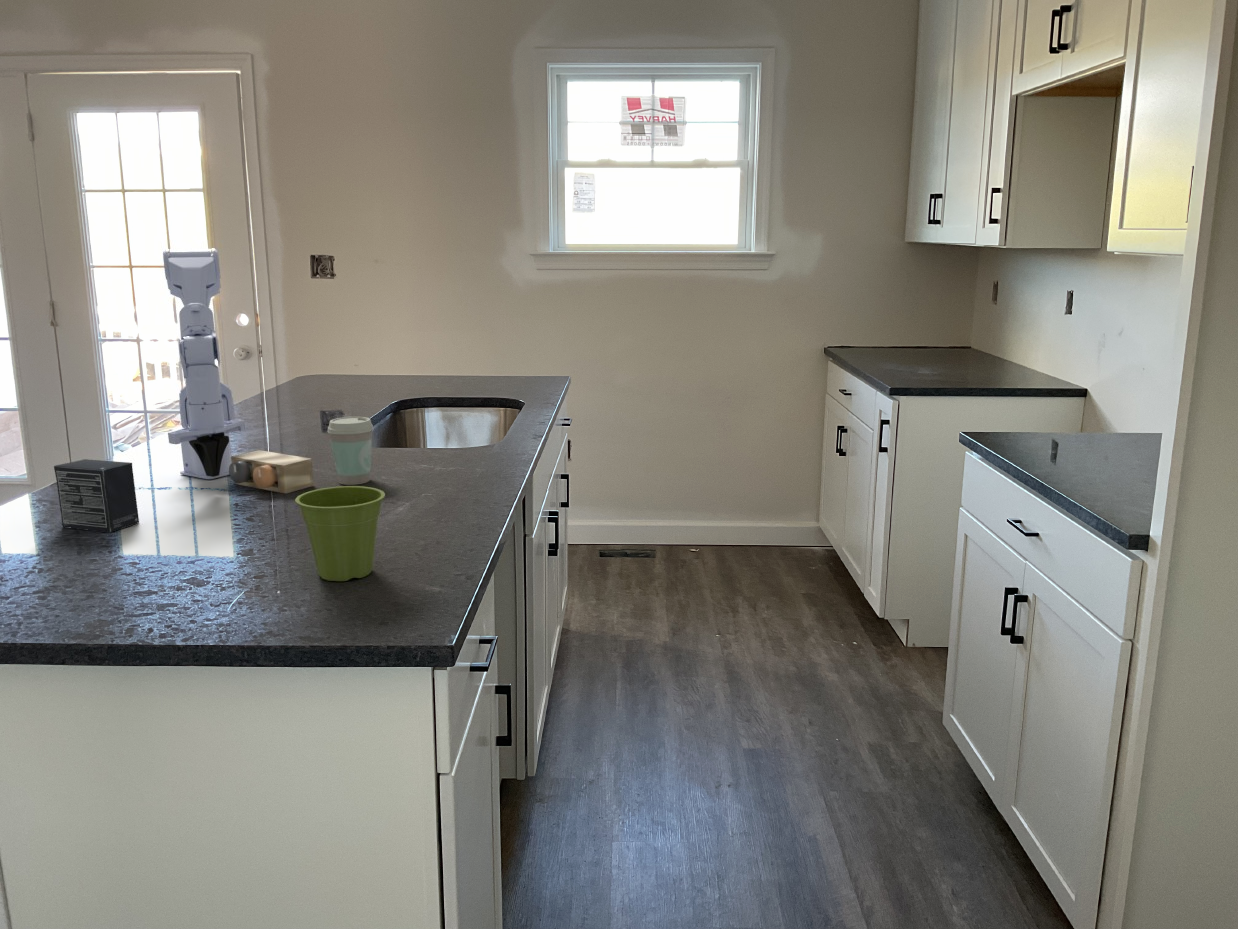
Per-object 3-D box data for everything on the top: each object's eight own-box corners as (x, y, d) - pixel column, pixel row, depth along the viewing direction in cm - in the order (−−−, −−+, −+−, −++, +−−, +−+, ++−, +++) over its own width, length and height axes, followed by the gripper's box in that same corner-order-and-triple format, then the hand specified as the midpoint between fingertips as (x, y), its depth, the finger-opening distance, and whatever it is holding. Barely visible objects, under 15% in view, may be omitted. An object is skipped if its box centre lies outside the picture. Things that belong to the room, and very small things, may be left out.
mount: (233, 483, 186) (230, 456, 185) (261, 476, 191) (259, 450, 190) (285, 493, 178) (283, 465, 177) (313, 485, 183) (311, 458, 182)
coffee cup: (365, 487, 182) (360, 424, 179) (323, 485, 184) (318, 423, 181) (384, 476, 190) (380, 416, 187) (344, 475, 192) (340, 415, 189)
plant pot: (389, 584, 131) (384, 504, 128) (297, 591, 128) (290, 510, 126) (390, 557, 142) (385, 482, 140) (306, 563, 140) (299, 487, 137)
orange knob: (267, 489, 177) (265, 468, 176) (253, 486, 179) (251, 465, 178) (298, 481, 183) (296, 460, 182) (284, 479, 185) (282, 458, 184)
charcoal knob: (243, 484, 181) (241, 464, 180) (229, 482, 183) (227, 461, 182) (273, 477, 186) (271, 456, 185) (260, 474, 188) (258, 454, 188)
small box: (142, 522, 161) (134, 461, 158) (110, 534, 155) (102, 470, 152) (93, 517, 164) (85, 457, 162) (60, 528, 158) (51, 465, 156)
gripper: (182, 410, 166) (191, 487, 169) (253, 398, 178) (260, 470, 181) (157, 406, 170) (166, 481, 173) (228, 395, 182) (235, 465, 185)
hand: (212, 475), depth 177 cm, fingers closed
